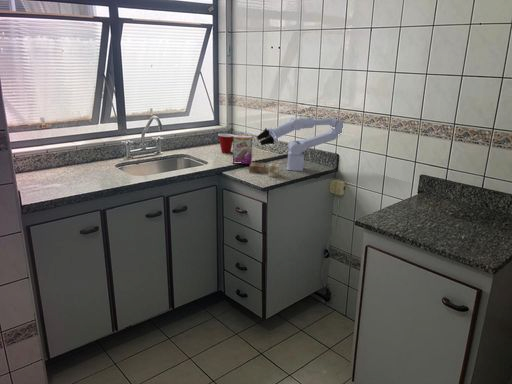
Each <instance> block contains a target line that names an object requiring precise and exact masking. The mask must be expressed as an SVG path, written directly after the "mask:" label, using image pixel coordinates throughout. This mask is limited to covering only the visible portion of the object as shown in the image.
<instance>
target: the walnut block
mask: <svg viewBox="0 0 512 384" xmlns="http://www.w3.org/2000/svg"><path fill="white" fill-rule="evenodd" d="M248 167H249V169H248V170H249V173H255V174H256V173H257V174H264V173H265V171H266V162H256V161H252V163H251V164H249V166H248Z"/></svg>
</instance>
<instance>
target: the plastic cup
mask: <svg viewBox="0 0 512 384" xmlns="http://www.w3.org/2000/svg"><path fill="white" fill-rule="evenodd" d="M234 135H235V134H232V133H218V134H217V136H218V139H219V146H220V150H221V153H222V154H230V153H231V150H232V148H233V137H234Z"/></svg>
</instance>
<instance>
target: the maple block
mask: <svg viewBox="0 0 512 384" xmlns="http://www.w3.org/2000/svg"><path fill="white" fill-rule="evenodd" d="M279 168H280V164H279V163H269V165H268V177H269V178H278V177H279V173H280V171H279V170H280V169H279Z"/></svg>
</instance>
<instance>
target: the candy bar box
mask: <svg viewBox="0 0 512 384" xmlns="http://www.w3.org/2000/svg"><path fill="white" fill-rule="evenodd" d="M233 135H234V137H233V141H232V164H234V162H241V163H245V164H244V165H250V164H251V163H252V162H253V142H254V141H253V139H254V138H253V137H254V136H253V135H252V136H251V135H237V134H236V135H235V134H233Z"/></svg>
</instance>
